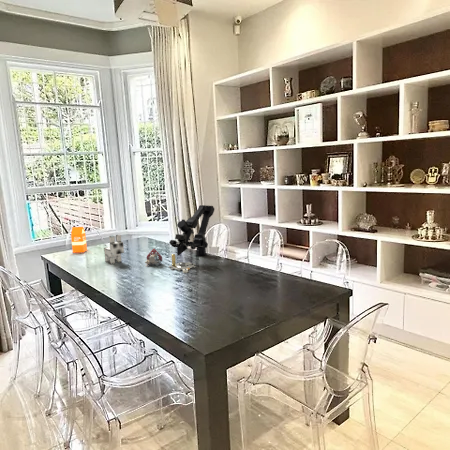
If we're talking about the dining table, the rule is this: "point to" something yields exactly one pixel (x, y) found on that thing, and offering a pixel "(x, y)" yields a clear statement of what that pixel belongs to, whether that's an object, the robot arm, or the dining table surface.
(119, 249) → the toy llama
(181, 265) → the sprocket
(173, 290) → the dining table surface
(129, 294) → the dining table surface
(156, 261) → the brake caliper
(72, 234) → the orange juice
